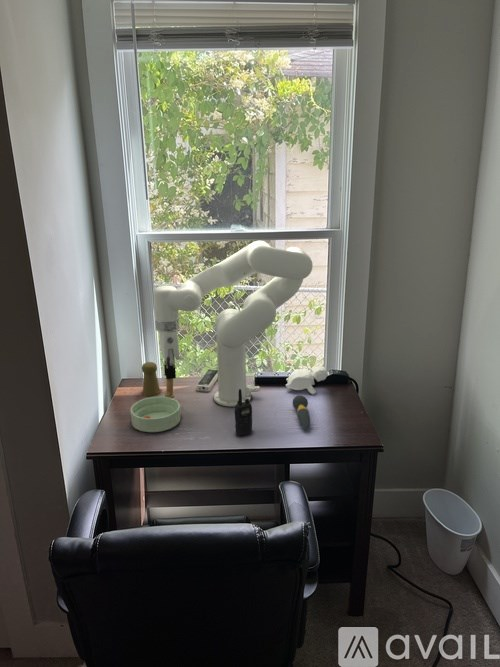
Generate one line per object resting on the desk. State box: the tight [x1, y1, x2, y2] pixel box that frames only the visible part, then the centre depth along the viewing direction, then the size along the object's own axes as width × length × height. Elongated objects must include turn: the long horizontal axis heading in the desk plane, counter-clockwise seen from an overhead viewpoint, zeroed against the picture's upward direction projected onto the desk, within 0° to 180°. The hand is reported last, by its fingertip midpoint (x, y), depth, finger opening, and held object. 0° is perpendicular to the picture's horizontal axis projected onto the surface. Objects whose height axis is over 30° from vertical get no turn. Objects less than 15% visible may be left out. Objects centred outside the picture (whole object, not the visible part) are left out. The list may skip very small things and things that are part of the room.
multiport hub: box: [196, 369, 218, 393], centre depth 188 cm, size 4×14×2 cm, turn 168°
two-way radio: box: [234, 389, 253, 437], centre depth 152 cm, size 6×4×15 cm
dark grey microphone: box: [292, 394, 311, 431], centre depth 162 cm, size 20×5×5 cm, turn 7°
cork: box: [141, 361, 161, 397], centre depth 180 cm, size 6×6×11 cm
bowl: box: [129, 396, 182, 433], centre depth 161 cm, size 15×15×5 cm
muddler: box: [164, 361, 176, 399], centre depth 172 cm, size 3×3×13 cm
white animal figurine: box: [285, 365, 328, 395], centre depth 182 cm, size 9×8×15 cm
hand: (170, 376), depth 171 cm, fingers closed on muddler, 2 cm apart
